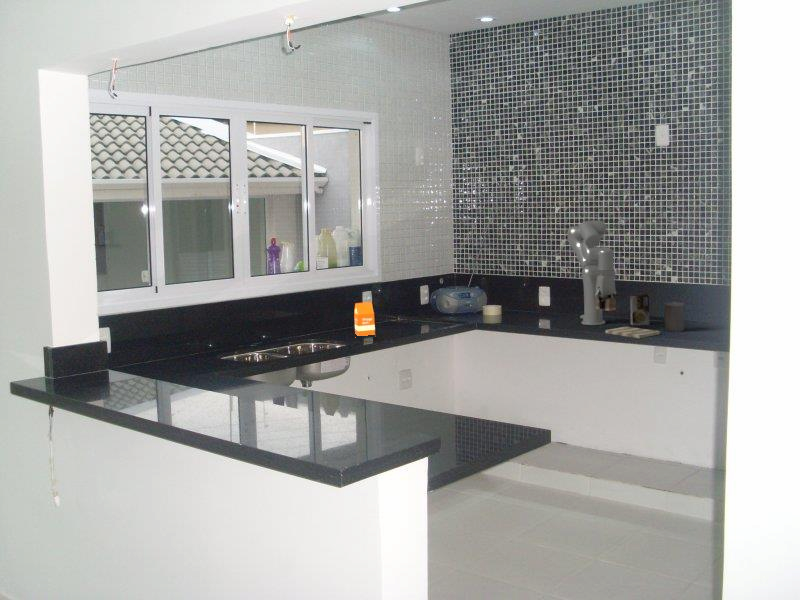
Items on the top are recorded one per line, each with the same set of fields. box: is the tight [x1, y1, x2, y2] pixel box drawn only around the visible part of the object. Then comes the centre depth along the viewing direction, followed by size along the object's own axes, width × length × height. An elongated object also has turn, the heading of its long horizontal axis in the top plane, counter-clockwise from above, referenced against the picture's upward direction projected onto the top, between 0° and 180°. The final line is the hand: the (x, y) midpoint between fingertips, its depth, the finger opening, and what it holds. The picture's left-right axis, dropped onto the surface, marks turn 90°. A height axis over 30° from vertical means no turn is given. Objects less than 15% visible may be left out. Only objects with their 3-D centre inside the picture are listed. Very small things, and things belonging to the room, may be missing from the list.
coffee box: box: [629, 292, 650, 326], centre depth 462 cm, size 9×6×16 cm
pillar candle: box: [663, 301, 685, 333], centre depth 440 cm, size 10×10×15 cm
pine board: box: [604, 326, 661, 339], centre depth 437 cm, size 22×15×2 cm
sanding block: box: [596, 296, 617, 312], centre depth 450 cm, size 9×5×6 cm, turn 34°
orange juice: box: [353, 301, 376, 336], centre depth 451 cm, size 8×9×20 cm
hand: (605, 307), depth 450 cm, fingers closed on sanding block, 5 cm apart
